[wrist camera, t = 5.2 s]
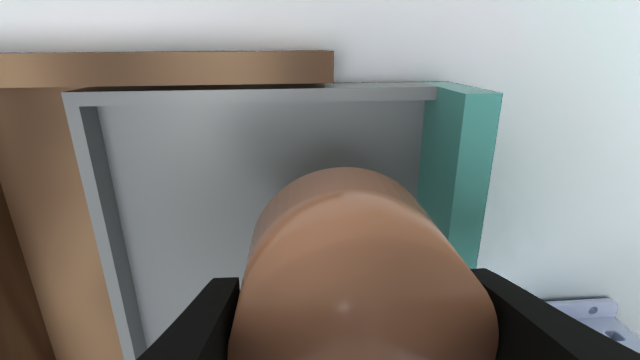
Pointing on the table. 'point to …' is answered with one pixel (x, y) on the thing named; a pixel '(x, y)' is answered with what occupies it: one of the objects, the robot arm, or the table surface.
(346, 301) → the tan short cylinder
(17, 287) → the housing
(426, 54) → the table surface
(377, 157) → the tray
